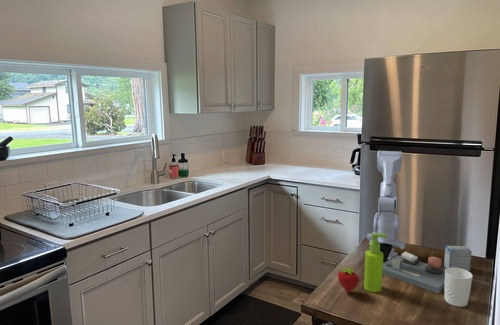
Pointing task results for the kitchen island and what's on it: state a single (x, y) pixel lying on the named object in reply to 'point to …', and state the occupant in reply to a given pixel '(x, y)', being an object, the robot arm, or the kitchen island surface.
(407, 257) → the rocker switch
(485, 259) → the kitchen island surface
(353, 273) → the strawberry
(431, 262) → the push button
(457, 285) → the white cup
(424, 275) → the panel
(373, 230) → the robot arm
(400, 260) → the slider knob
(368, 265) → the soap dispenser
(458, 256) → the medicine box
